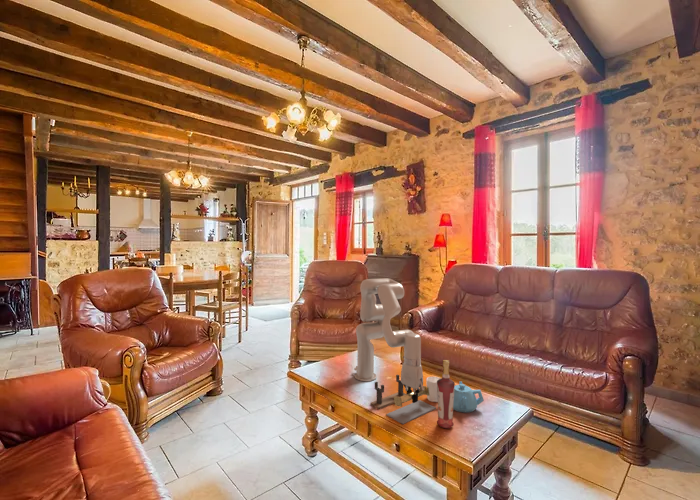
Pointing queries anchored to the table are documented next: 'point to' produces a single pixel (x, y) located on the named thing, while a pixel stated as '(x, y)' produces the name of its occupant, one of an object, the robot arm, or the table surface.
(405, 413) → the mat
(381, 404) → the rack
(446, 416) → the liquor
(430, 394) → the white cup
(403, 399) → the rail
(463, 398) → the teapot
